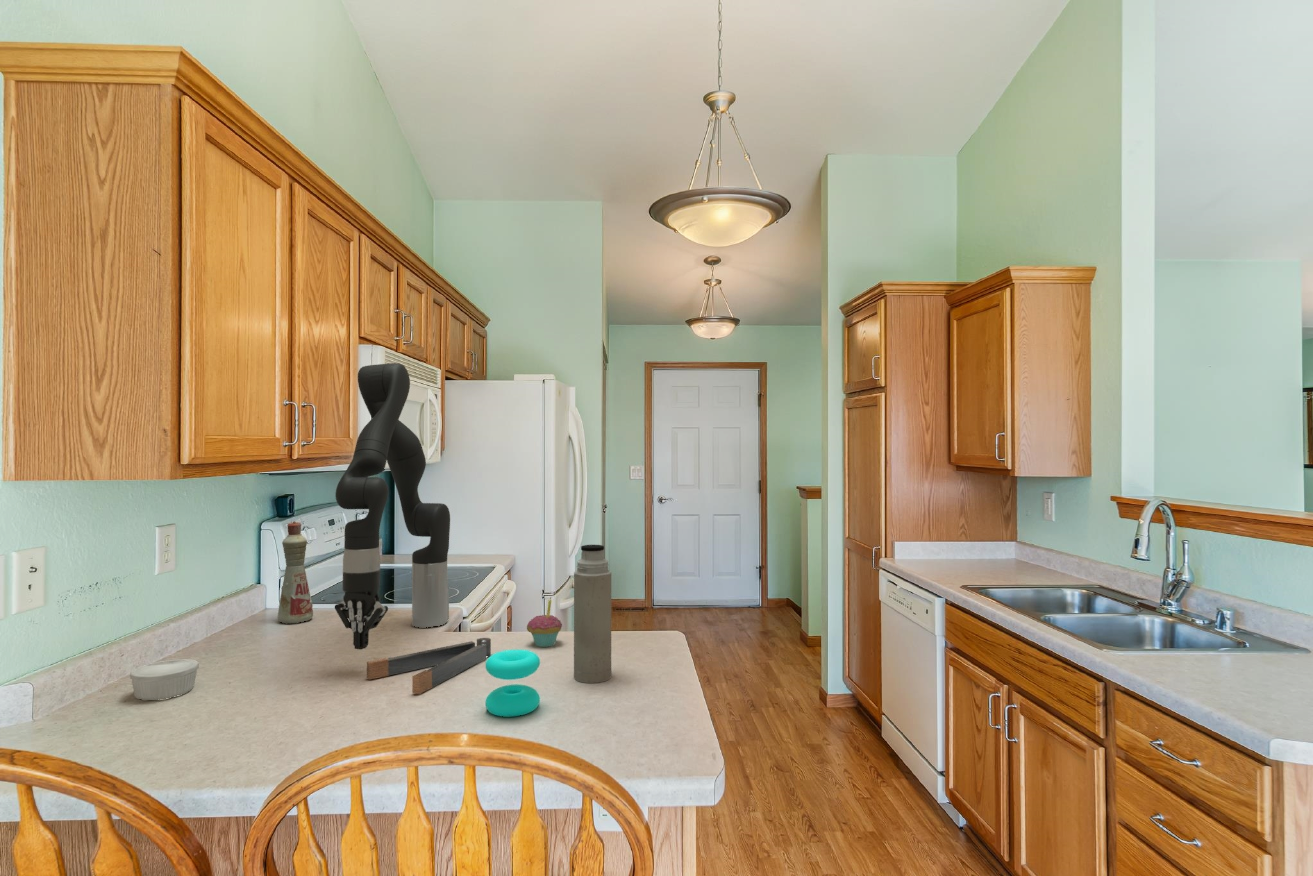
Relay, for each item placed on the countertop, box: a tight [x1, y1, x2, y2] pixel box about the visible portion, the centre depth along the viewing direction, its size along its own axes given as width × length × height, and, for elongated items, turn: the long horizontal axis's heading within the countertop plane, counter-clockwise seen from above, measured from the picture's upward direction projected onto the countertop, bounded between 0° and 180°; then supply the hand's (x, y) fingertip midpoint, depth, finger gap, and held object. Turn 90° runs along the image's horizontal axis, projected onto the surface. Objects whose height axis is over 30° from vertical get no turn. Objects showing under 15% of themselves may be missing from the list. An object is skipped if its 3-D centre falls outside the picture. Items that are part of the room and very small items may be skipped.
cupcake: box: [526, 596, 563, 648], centre depth 171 cm, size 9×8×12 cm
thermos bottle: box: [573, 544, 612, 684], centre depth 147 cm, size 8×8×28 cm
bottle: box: [277, 520, 314, 624], centre depth 194 cm, size 9×9×28 cm
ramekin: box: [129, 658, 200, 701], centre depth 138 cm, size 11×11×5 cm
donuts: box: [485, 649, 541, 718], centre depth 130 cm, size 10×10×10 cm
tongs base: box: [411, 637, 492, 695], centre depth 150 cm, size 28×4×4 cm, turn 161°
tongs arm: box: [366, 640, 476, 681], centre depth 153 cm, size 24×2×3 cm, turn 131°
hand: (360, 648), depth 150 cm, fingers closed
